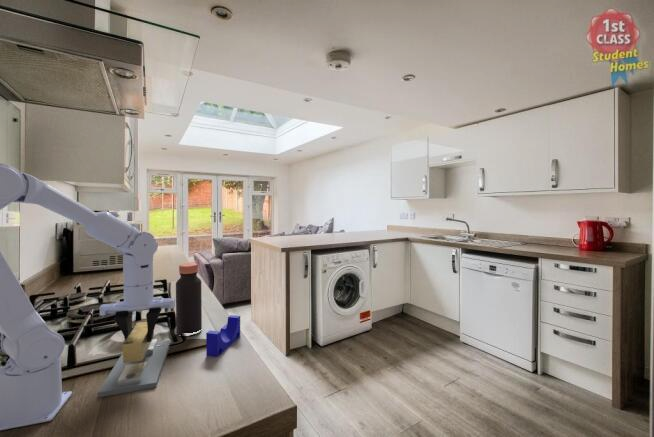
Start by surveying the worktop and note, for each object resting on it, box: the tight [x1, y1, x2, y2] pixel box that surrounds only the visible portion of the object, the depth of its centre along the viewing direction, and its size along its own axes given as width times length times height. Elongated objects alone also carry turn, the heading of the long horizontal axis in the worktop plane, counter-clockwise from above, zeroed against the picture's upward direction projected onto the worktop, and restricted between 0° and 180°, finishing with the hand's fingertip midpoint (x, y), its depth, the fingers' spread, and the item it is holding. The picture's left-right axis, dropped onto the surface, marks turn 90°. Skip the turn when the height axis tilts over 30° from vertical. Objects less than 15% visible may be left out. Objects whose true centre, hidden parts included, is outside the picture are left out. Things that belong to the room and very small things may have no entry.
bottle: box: [175, 262, 203, 336], centre depth 86 cm, size 7×7×20 cm
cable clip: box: [205, 314, 241, 358], centre depth 79 cm, size 12×4×6 cm, turn 170°
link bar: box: [122, 321, 155, 363], centre depth 68 cm, size 4×12×4 cm, turn 20°
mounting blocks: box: [117, 338, 158, 386], centre depth 68 cm, size 4×18×1 cm, turn 20°
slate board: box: [97, 339, 172, 398], centre depth 68 cm, size 10×20×1 cm, turn 20°
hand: (139, 341), depth 68 cm, fingers closed on link bar, 3 cm apart
